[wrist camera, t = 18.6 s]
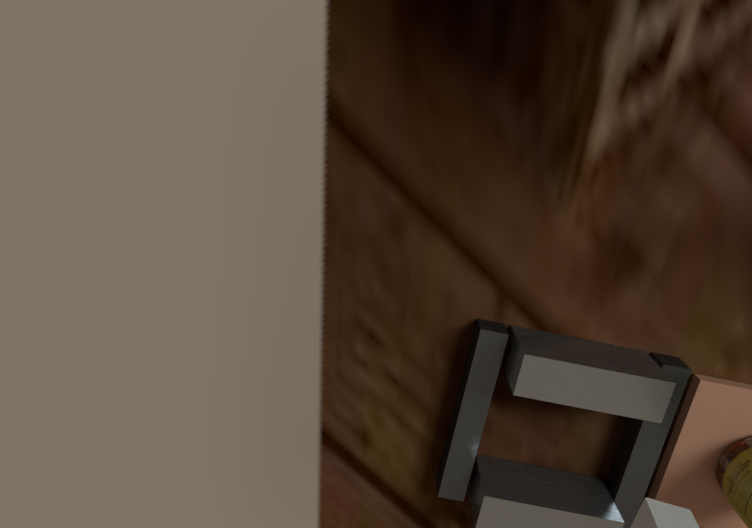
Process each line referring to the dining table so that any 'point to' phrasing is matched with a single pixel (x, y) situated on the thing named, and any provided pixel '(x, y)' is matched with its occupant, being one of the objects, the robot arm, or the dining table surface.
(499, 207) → the dining table surface
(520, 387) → the dark grey square frame
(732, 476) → the sauce bottle
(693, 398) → the terracotta tile
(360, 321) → the dining table surface
